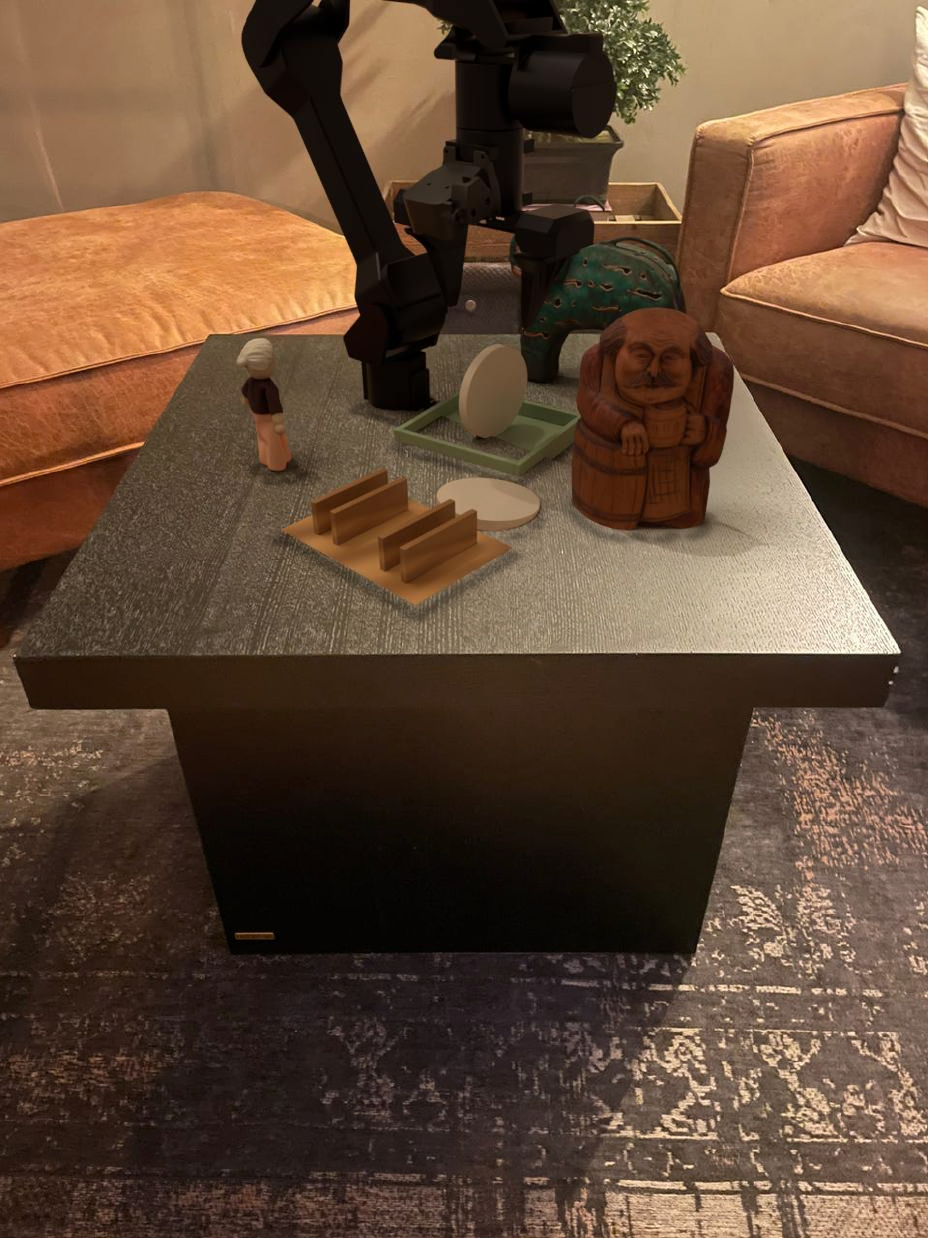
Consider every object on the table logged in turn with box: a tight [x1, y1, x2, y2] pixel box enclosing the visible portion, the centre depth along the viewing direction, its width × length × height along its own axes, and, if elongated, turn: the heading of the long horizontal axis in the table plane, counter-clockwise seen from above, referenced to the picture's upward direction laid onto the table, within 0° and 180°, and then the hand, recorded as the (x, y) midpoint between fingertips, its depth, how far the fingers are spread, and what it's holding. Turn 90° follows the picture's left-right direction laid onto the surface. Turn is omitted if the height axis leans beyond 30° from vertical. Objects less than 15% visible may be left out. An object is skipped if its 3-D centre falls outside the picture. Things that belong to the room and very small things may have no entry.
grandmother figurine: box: [235, 337, 293, 472], centre depth 83 cm, size 8×4×13 cm, turn 47°
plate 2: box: [435, 477, 541, 532], centre depth 80 cm, size 1×9×9 cm
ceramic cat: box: [508, 194, 688, 384], centre depth 97 cm, size 20×6×20 cm, turn 58°
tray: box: [393, 389, 581, 478], centre depth 91 cm, size 14×13×2 cm
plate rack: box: [280, 467, 513, 606], centre depth 75 cm, size 16×11×4 cm
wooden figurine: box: [571, 307, 735, 531], centre depth 74 cm, size 12×6×18 cm, turn 89°
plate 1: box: [459, 343, 528, 439], centre depth 89 cm, size 1×9×9 cm, turn 137°
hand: (488, 316), depth 84 cm, fingers open, 9 cm apart
